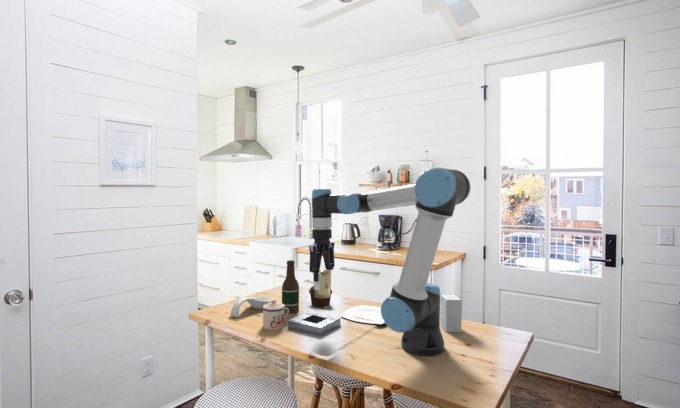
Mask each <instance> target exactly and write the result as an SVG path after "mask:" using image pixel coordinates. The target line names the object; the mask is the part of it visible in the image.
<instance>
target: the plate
mask: <svg viewBox="0 0 680 408" xmlns="http://www.w3.org/2000/svg"><path fill="white" fill-rule="evenodd" d="M357 317H358V318H357ZM340 318H343V319H346V320H348V321H352V322H356V323H359V324H360V323H361V324H368V325H375V326H382V325H384V324H385V322H384V319H383V318H382V315H381V306H375V305H374V306H373V305H362V304H361V305H360V304H359V305H357V306H353V307H351V308H348V309H346V310H345V311H343V312H342V314H341V316H340ZM360 318H361V319H360ZM365 319H366V320H365ZM385 325H386V324H385Z"/></svg>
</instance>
